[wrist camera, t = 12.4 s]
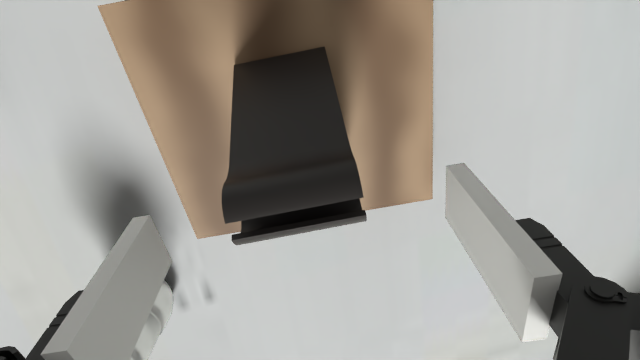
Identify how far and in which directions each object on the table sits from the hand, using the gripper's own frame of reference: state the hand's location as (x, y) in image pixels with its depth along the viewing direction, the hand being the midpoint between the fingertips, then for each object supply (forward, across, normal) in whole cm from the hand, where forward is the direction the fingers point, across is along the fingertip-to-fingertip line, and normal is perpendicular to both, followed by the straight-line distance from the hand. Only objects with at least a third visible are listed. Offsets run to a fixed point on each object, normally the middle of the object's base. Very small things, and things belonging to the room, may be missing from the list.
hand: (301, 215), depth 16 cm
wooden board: (+15, 0, -1) cm, 15 cm away
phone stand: (+12, 0, 0) cm, 12 cm away
